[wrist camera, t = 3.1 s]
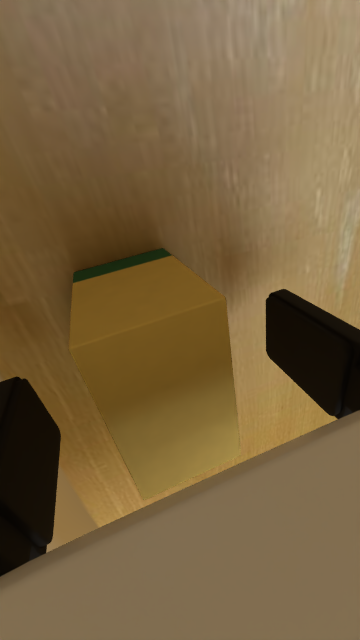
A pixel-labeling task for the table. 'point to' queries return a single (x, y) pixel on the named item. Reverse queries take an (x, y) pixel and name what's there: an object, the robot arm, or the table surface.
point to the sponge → (157, 366)
